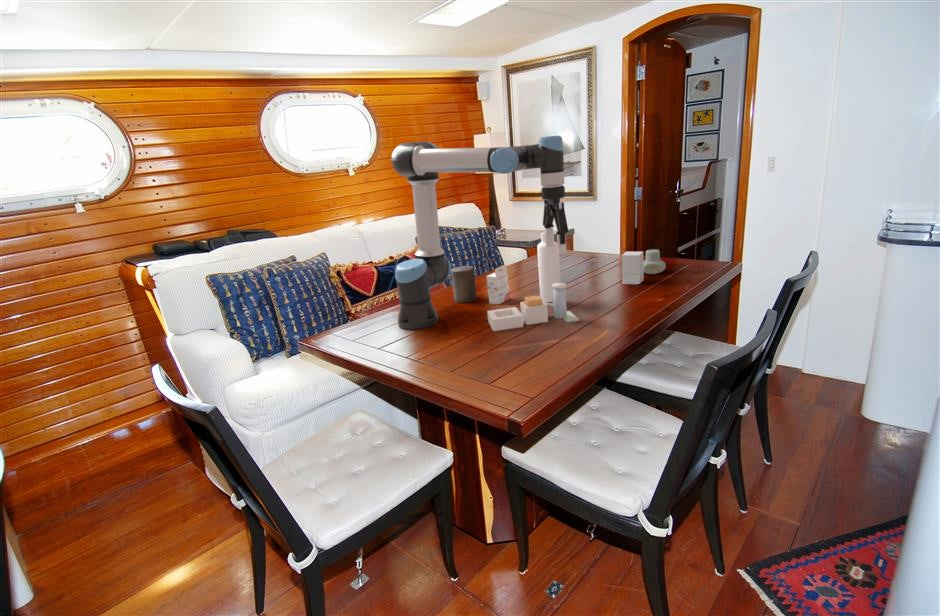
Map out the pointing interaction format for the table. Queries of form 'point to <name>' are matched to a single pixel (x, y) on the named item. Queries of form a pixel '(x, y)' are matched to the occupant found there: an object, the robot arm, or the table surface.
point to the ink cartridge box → (498, 286)
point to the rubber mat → (571, 317)
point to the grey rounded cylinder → (559, 300)
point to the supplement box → (632, 267)
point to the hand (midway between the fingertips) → (555, 250)
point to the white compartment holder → (517, 316)
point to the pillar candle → (464, 284)
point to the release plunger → (533, 301)
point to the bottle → (548, 269)
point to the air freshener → (653, 262)
